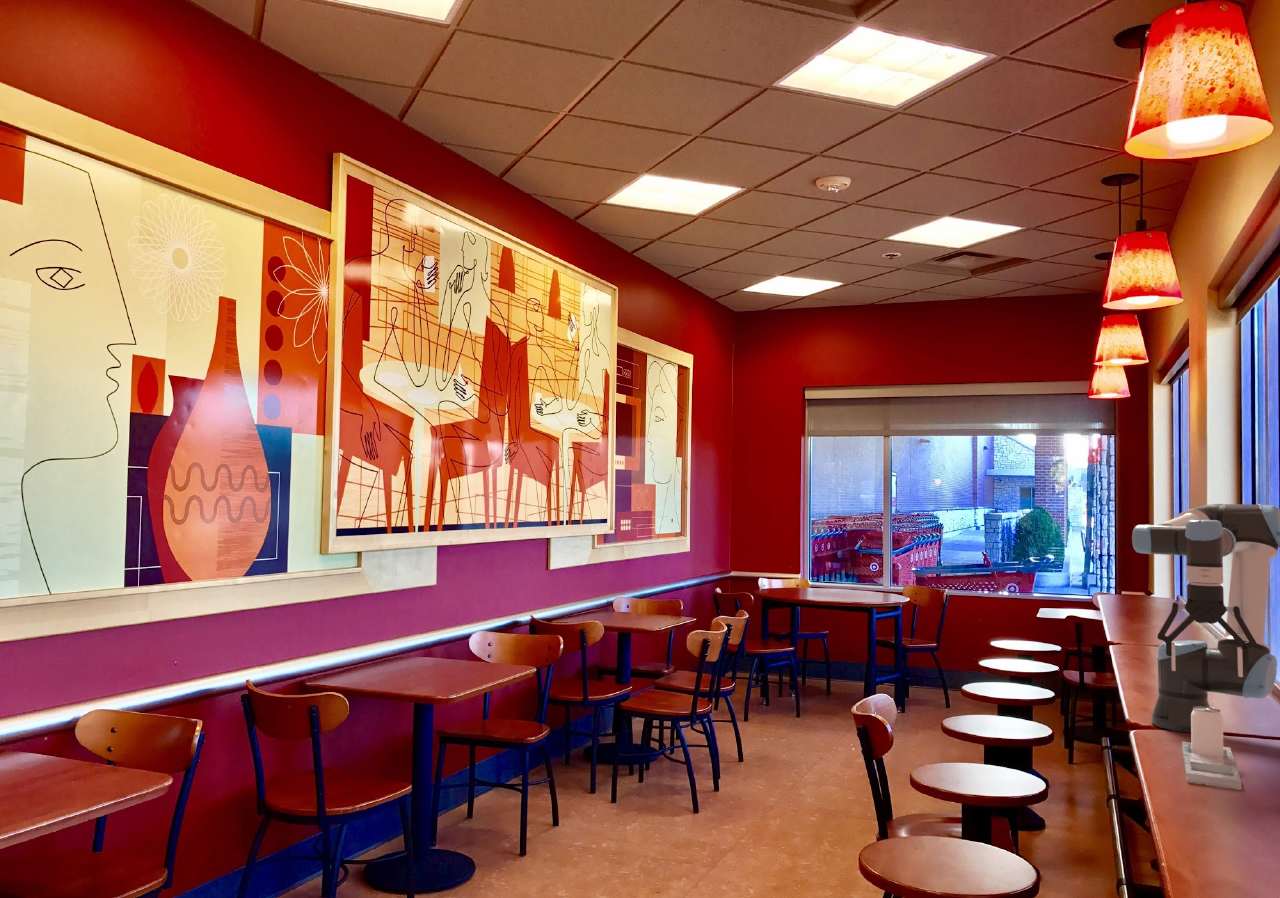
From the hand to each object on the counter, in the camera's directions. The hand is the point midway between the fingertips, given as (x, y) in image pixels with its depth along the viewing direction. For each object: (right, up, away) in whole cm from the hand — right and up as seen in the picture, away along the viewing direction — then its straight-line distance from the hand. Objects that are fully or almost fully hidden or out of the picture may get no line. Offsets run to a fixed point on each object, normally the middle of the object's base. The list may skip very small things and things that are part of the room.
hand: (1206, 673), depth 217 cm
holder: (-4, -20, -8) cm, 22 cm away
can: (0, -21, -1) cm, 21 cm away
